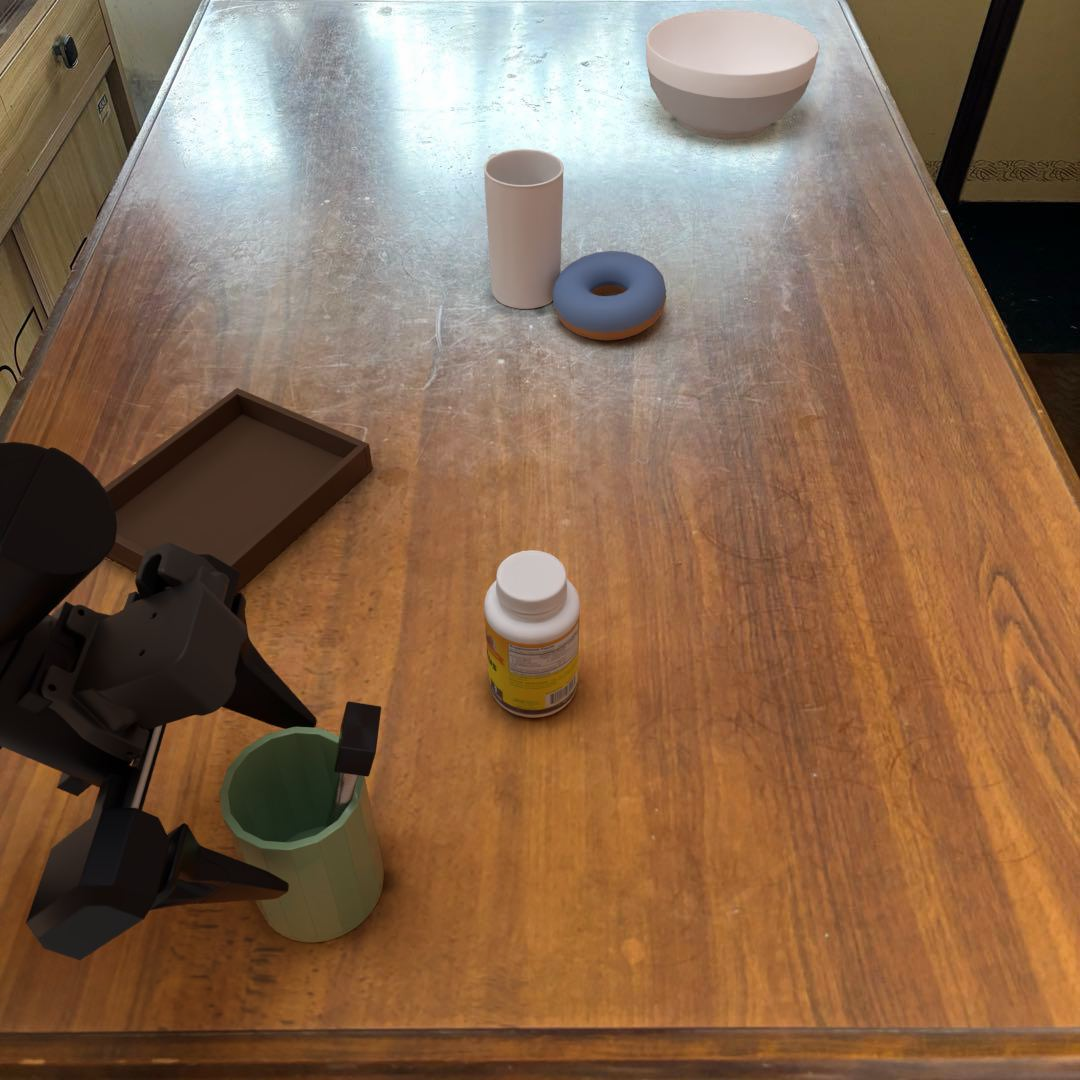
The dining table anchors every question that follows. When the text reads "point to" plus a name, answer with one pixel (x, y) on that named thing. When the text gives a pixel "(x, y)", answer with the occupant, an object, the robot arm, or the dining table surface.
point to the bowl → (729, 69)
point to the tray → (235, 485)
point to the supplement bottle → (532, 635)
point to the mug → (524, 225)
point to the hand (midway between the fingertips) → (298, 804)
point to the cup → (303, 833)
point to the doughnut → (609, 314)
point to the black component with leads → (354, 752)
